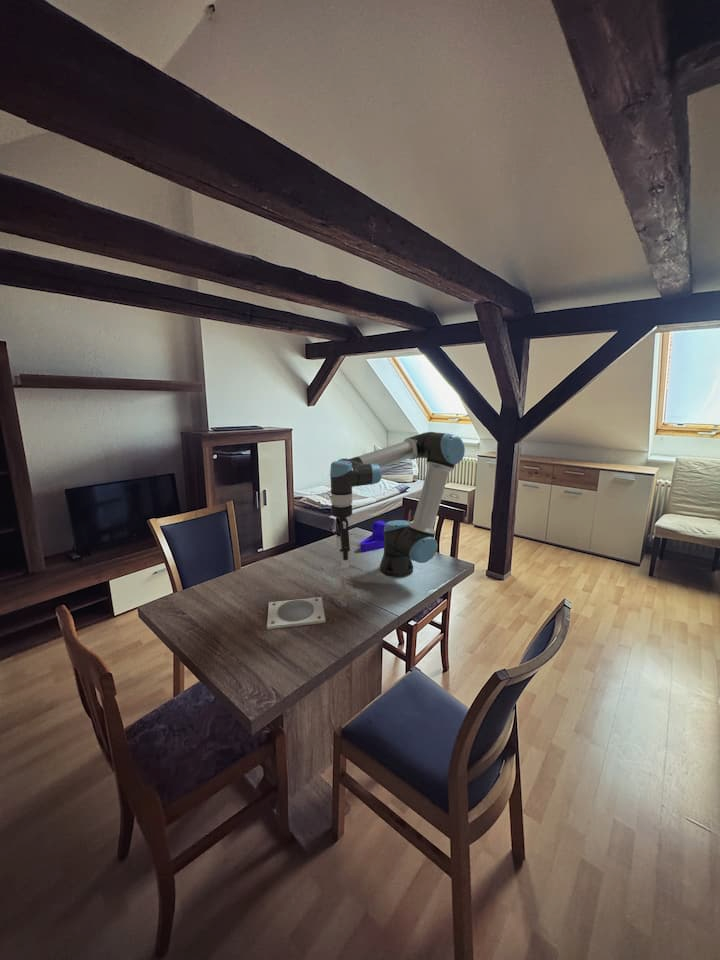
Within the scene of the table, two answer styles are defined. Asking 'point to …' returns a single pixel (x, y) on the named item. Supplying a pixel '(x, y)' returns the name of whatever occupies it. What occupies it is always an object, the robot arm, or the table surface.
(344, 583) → the pipe connector
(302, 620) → the duct panel
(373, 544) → the bracket
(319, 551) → the table surface
